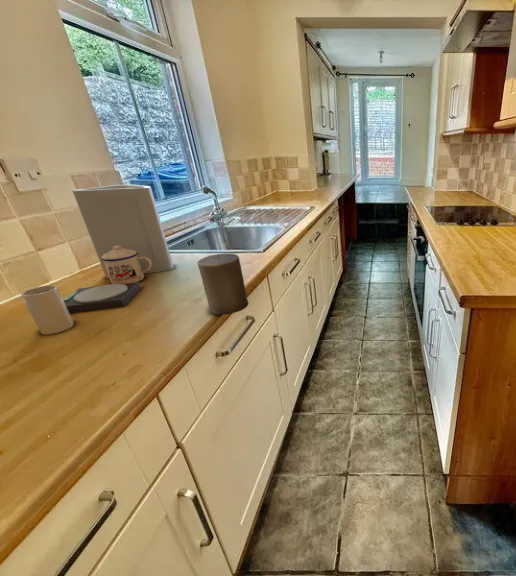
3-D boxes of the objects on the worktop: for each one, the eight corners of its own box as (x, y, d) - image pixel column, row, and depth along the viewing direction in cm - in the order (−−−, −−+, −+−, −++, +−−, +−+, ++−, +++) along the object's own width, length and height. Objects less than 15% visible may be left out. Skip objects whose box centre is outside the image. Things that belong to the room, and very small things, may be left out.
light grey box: (177, 257, 125) (156, 183, 114) (172, 269, 113) (148, 187, 101) (117, 264, 118) (88, 185, 106) (105, 278, 105) (71, 191, 94)
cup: (34, 336, 73) (14, 297, 69) (50, 324, 78) (31, 286, 74) (65, 332, 75) (47, 293, 71) (78, 320, 80) (62, 283, 76)
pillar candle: (256, 302, 89) (246, 250, 83) (229, 318, 80) (216, 262, 74) (229, 296, 92) (218, 246, 86) (200, 311, 84) (186, 257, 78)
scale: (55, 314, 82) (51, 306, 81) (81, 294, 94) (78, 286, 93) (123, 306, 87) (120, 298, 86) (140, 288, 98) (138, 280, 97)
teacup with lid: (107, 288, 98) (93, 251, 93) (115, 278, 106) (102, 244, 101) (153, 281, 103) (142, 246, 98) (157, 272, 110) (147, 239, 105)
